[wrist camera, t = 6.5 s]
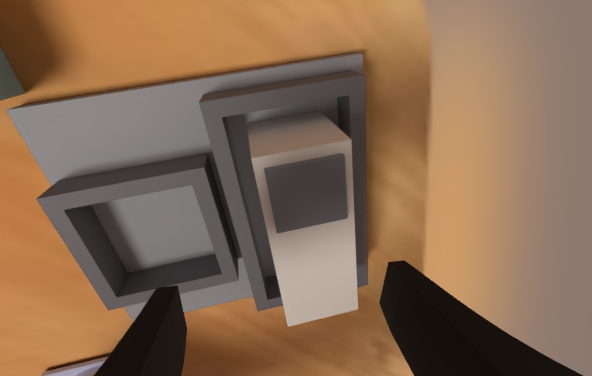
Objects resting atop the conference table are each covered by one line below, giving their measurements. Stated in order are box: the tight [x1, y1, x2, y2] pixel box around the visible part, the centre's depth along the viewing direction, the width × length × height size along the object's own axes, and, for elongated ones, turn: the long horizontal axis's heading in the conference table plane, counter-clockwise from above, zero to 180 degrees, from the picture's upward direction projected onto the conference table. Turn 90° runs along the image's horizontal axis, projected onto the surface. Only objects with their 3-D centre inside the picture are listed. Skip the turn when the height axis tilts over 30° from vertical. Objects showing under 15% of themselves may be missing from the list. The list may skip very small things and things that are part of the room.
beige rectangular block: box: [247, 111, 358, 327], centre depth 16 cm, size 10×4×5 cm, turn 7°
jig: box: [6, 53, 368, 322], centre depth 17 cm, size 15×17×3 cm
